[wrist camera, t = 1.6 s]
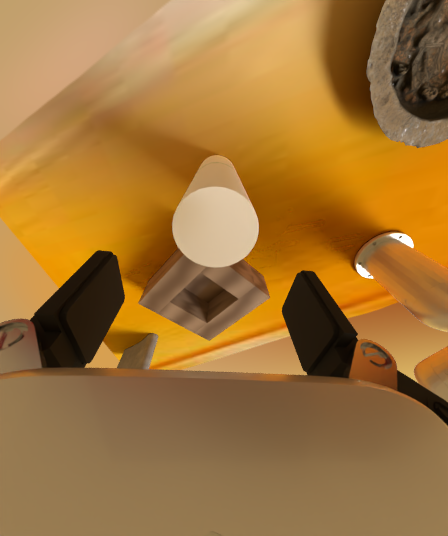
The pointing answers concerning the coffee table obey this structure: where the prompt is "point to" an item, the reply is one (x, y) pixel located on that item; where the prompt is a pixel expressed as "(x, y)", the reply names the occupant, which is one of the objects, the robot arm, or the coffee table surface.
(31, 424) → the robot arm
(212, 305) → the walnut well block
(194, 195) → the cylindrical container
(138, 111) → the coffee table surface
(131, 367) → the hip flask
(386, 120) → the stone bowl
